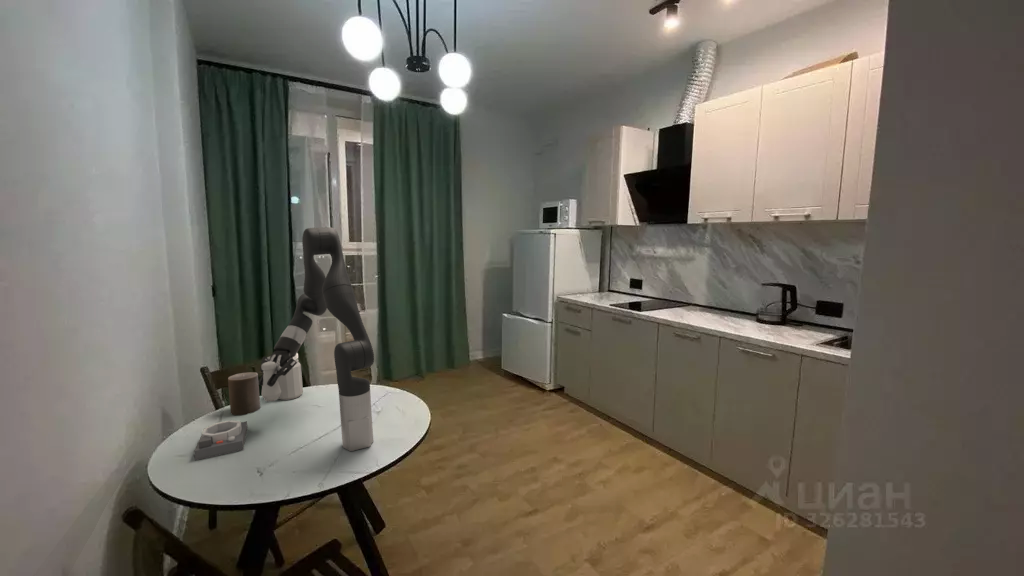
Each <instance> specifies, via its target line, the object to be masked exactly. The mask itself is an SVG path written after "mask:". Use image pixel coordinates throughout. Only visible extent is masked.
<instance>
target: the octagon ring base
mask: <svg viewBox="0 0 1024 576" xmlns="http://www.w3.org/2000/svg"><path fill="white" fill-rule="evenodd" d="M248 428H249V427H248V421H240V420H234V419H233V420H232V419H231V420H224V421H219V422H217V423H216V422H215V423H213V424H211V425H208V426H207V427H205V428H203V429H202V431H201V435H200V437H199V439H198V442H197V443H196V447H195V448H194V451H193V454H194V460H195V461H199V459H200V460H203V459H207V458H208V459H210V458H212V457H218V456H221V455H222V456H223V455H226V454H230V453H236V452H240V451H244V448H245V444H246V439H247V434H248V431H249V430H248Z"/></svg>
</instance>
